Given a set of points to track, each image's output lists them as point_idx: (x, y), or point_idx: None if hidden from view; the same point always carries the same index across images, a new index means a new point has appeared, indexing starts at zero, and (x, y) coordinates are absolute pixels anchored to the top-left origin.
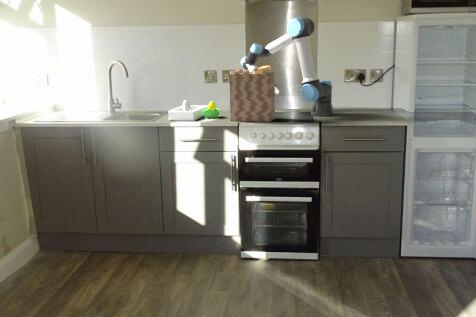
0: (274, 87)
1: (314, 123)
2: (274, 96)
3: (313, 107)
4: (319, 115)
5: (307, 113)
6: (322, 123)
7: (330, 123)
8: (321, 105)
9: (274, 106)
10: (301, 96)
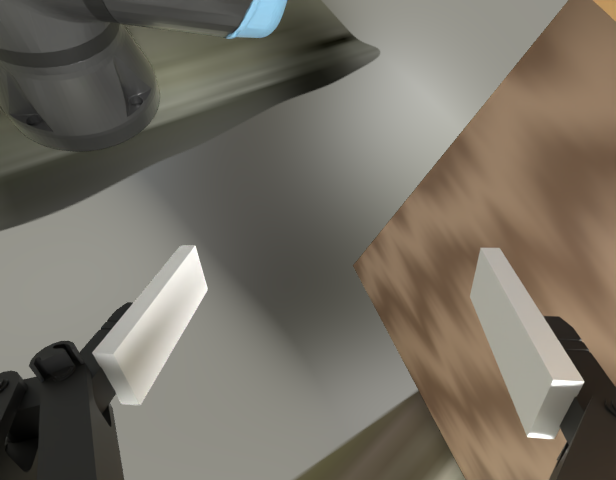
0: (141, 337)
1: (355, 55)
2: (416, 188)
3: (115, 90)
4: (158, 87)
5: (60, 187)
6: (336, 33)
7: (318, 13)
8: (125, 30)
9: (382, 231)
10: (277, 23)
